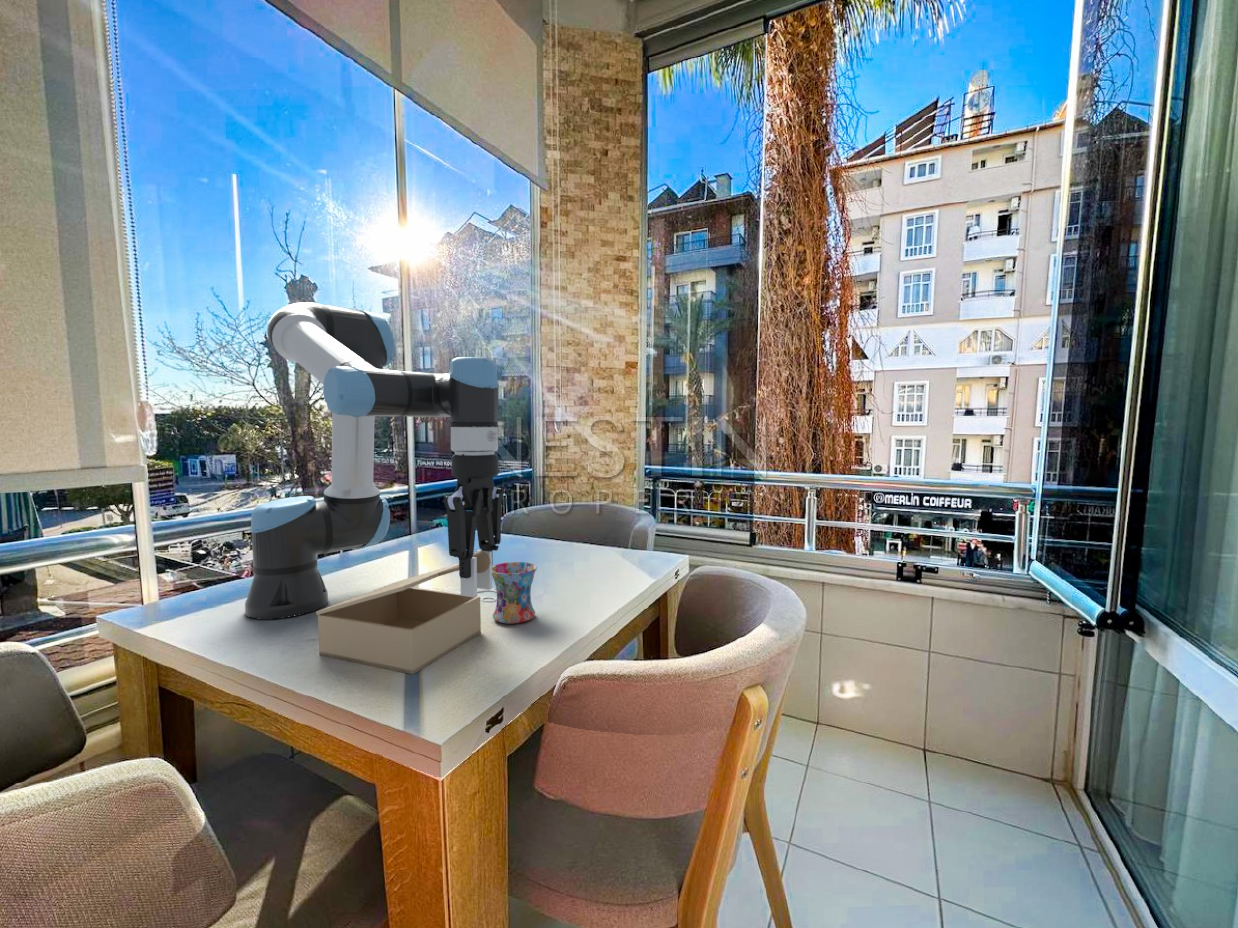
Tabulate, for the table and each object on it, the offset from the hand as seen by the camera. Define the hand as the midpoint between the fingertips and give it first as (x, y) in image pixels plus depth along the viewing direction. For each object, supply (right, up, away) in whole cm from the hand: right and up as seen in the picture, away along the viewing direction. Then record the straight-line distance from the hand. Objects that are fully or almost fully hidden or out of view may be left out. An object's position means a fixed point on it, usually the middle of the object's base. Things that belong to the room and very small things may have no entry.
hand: (476, 591), depth 89 cm
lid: (-11, -1, +4) cm, 11 cm away
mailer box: (-15, -11, +6) cm, 19 cm away
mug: (+3, -10, +20) cm, 23 cm away
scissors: (-12, -9, +35) cm, 38 cm away
